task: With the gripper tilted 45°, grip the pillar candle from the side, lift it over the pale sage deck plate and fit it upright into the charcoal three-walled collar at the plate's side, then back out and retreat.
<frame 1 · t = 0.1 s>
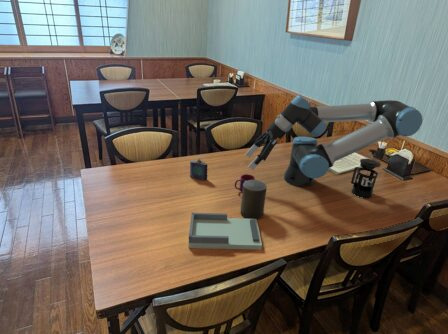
hand: (248, 162, 140), 15 cm above the table, tool tilted 35°, fingers open, 13 cm apart
flask: (198, 178, 156), on the table
deck plate: (224, 234, 116), on the table
pillar candle: (251, 213, 130), on the table
mug: (243, 190, 147), on the table
french press: (360, 193, 151), on the table
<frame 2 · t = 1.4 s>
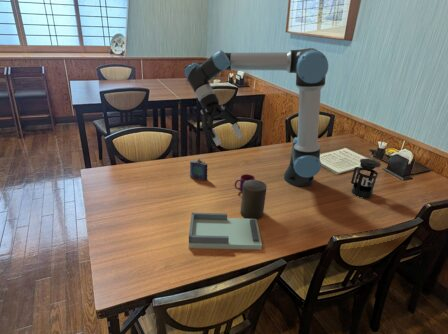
hand: (230, 140, 129), 28 cm above the table, tool tilted 45°, fingers open, 13 cm apart
nothing on the table moved.
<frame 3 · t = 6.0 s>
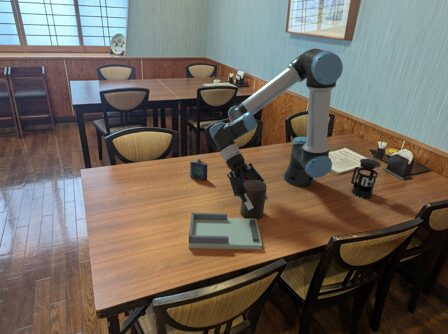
hand: (258, 204, 126), 6 cm above the table, tool tilted 45°, fingers closed on pillar candle, 10 cm apart
pillar candle: (251, 213, 130), on the table, touching gripper
everything else where it was.
when the fingers open (9 cm above the table, at t = 13.1 s): pillar candle drops 1 cm, resting on deck plate.
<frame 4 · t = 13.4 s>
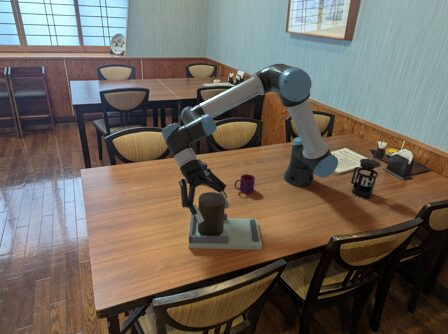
hand: (215, 214, 110), 10 cm above the table, tool tilted 45°, fingers open, 13 cm apart
pillar candle: (210, 229, 116), point 2 cm above the table, touching deck plate
everything else where it was.
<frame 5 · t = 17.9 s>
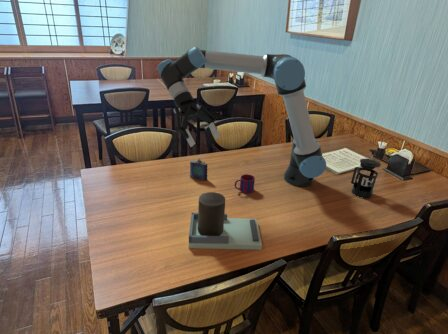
hand: (206, 141, 121), 30 cm above the table, tool tilted 45°, fingers open, 13 cm apart
nothing on the table moved.
at the end: pillar candle 0.4 cm from the target spot on the deck plate, point 1.8 cm above the deck plate's base; pillar candle tilted 0°; the gripper is holding nothing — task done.
